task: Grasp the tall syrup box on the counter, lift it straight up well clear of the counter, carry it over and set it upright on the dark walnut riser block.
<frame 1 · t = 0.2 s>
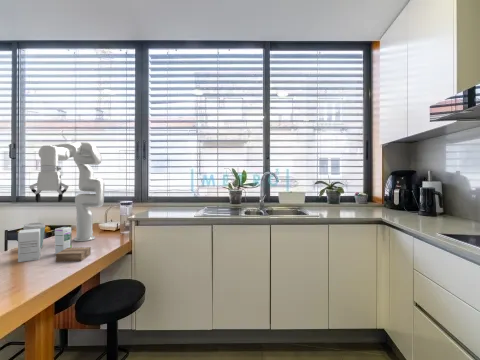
hand: (49, 201, 141), 30 cm above the counter, fingers open, 9 cm apart
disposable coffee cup: (34, 249, 160), on the counter
supplement box: (29, 259, 142), on the counter
syrup box: (63, 253, 153), on the counter
walnut riser: (74, 257, 144), on the counter
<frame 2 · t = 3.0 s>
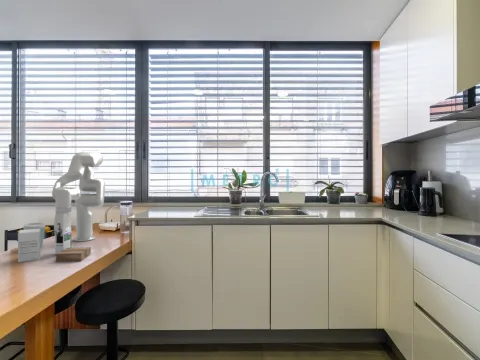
hand: (63, 241, 152), 7 cm above the counter, fingers closed on syrup box, 7 cm apart
syrup box: (63, 253, 153), on the counter, touching gripper
everything else where it was.
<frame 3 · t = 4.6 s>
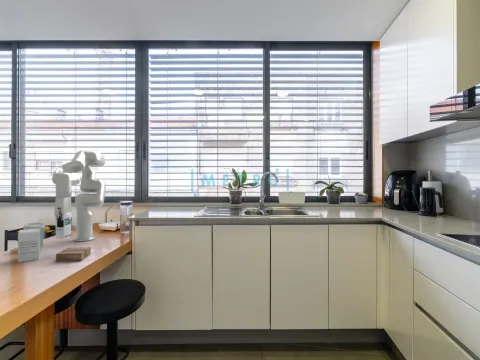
hand: (63, 225, 153), 16 cm above the counter, fingers closed on syrup box, 7 cm apart
syrup box: (64, 237, 153), point 9 cm above the counter, touching gripper
everything else where it was.
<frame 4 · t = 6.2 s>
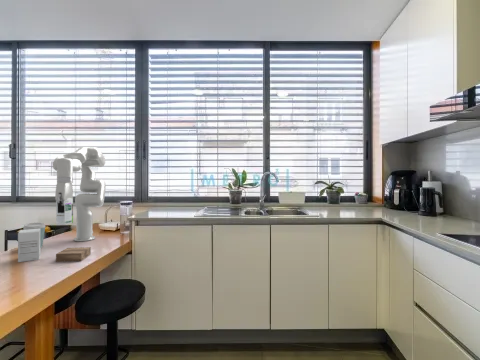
hand: (64, 211, 151), 24 cm above the counter, fingers closed on syrup box, 7 cm apart
syrup box: (64, 224, 151), point 17 cm above the counter, touching gripper
everything else where it was.
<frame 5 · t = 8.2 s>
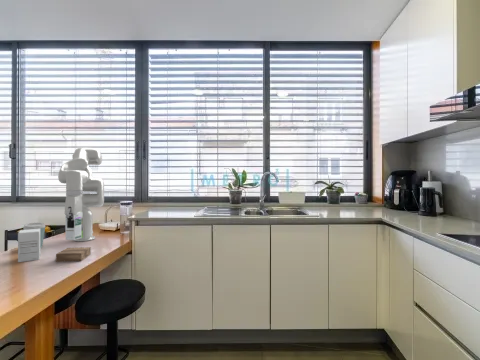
hand: (74, 226, 144), 17 cm above the counter, fingers closed on syrup box, 7 cm apart
syrup box: (74, 239, 144), point 10 cm above the counter, touching gripper
everything else where it was.
when the fingers open (12 cm above the counter, at t = 9.6 s): syrup box drops 1 cm, resting on walnut riser.
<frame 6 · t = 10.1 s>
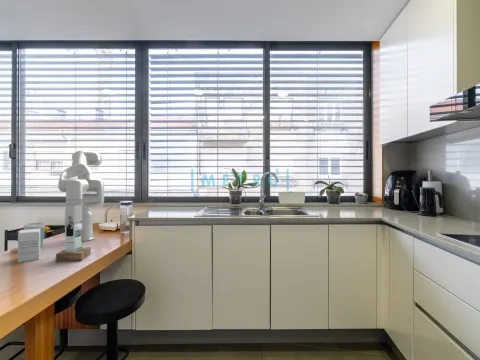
hand: (74, 234, 144), 13 cm above the counter, fingers open, 9 cm apart
syrup box: (73, 250, 144), point 4 cm above the counter, touching walnut riser
everything else where it was.
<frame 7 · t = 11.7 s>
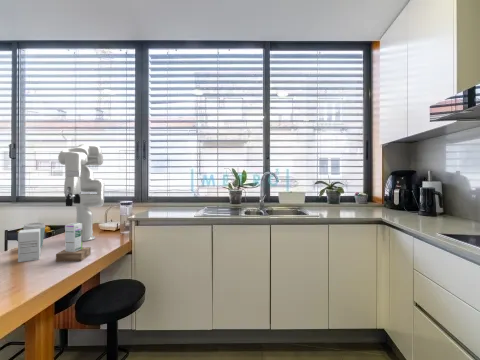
hand: (73, 204, 150), 28 cm above the counter, fingers open, 9 cm apart
nothing on the counter moved.
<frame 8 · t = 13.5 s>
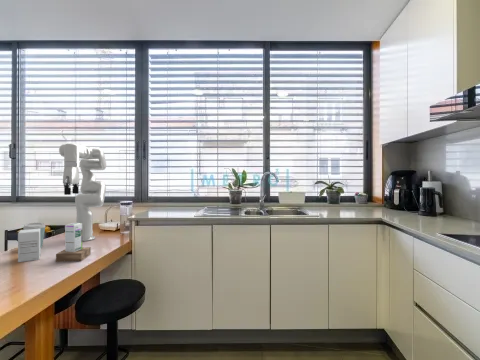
hand: (71, 194, 157), 33 cm above the counter, fingers open, 9 cm apart
nothing on the counter moved.
at the end: syrup box inside the target area on the walnut riser (0.1 cm from its centre), point 3.8 cm above the walnut riser's base; syrup box tilted 0°; the gripper is holding nothing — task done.
